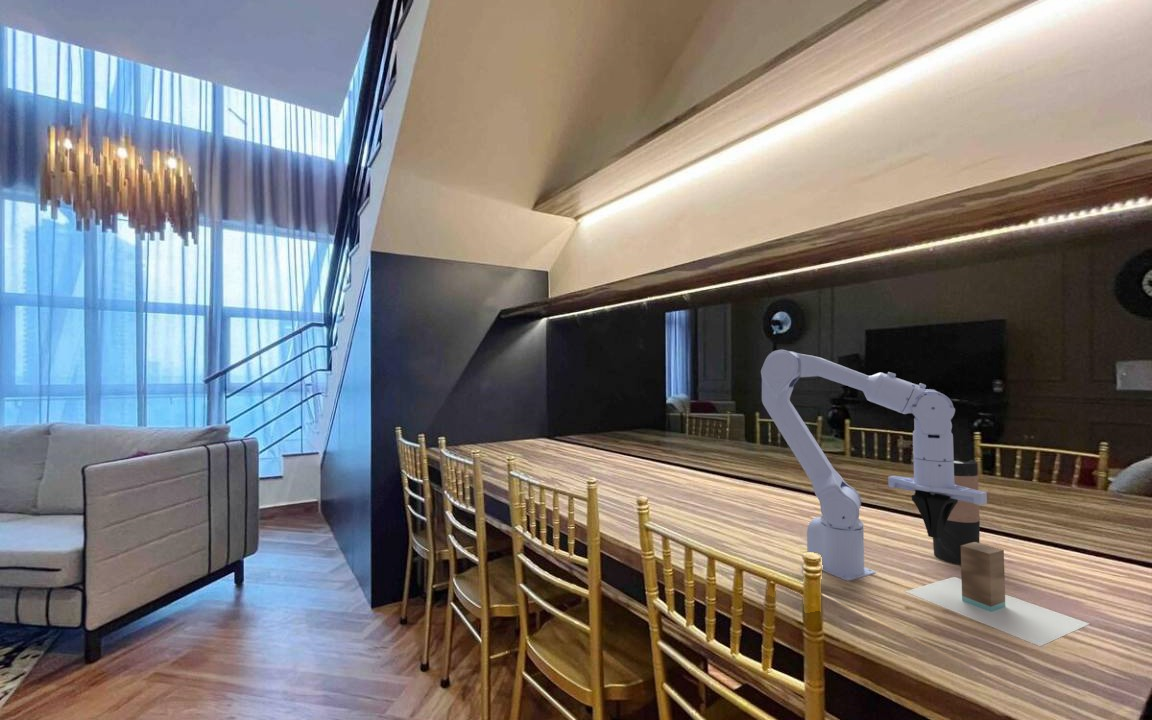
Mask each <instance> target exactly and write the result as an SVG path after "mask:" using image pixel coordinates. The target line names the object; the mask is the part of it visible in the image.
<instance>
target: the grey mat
mask: <svg viewBox="0 0 1152 720" xmlns="http://www.w3.org/2000/svg"><path fill="white" fill-rule="evenodd" d="M904 592H905V593H907V594H910V595H911V596H914V597H917V598H919V599H921V600H925V601H926V602H929V603H931V604H934V605H936V606H939V607H942V608H944V609H946V610H948V611H952V612H954V613H956V614H959V615H961V616H964V617H966V618H969V619H971V620H973V621H976V622H979V623H982V624H983V625H986V626H988V627H990V628H992V629H996V630H998V631H1001V632H1003V633H1005V634H1008V635H1010V636H1012V637H1015V638H1017V639H1020V640H1023V641H1025V642H1028V643H1031V644H1032V645H1035V646H1038V647H1043V646H1044V645H1047V644H1049V643H1051V642H1054V641H1055V640H1058V639H1061V638H1062V637H1064V636H1067V635H1068V634H1071V633H1074V632H1075V631H1077V630H1080V629H1081V628H1084V627H1087V626H1088V625H1090V623H1088V622H1086V621H1083V620H1080V619H1078V618H1074V617H1071V616H1069V615H1066V614H1063V613H1061V612H1057V611H1054V610H1051V609H1048V608H1046V607H1042V606H1041V605H1037V604H1033V603H1032V602H1028V601H1025V600H1022V599H1019V598H1017V597H1014V596H1010V595H1008V594H1005V607H1003V608H1001V609H998V610H995V611H993V612H990V611H987V610H985V609H982V608H979V607H977V606H974V605H972V604H969V603H966V602H964V601H962V578H959V577H956V576H951V577H949V578H945V579H942V580H938V581H935V582H932V583H928V584H926V585H925V584H924V585H922V586H920V587H919V586H918V587H916V588H913V589H909V590H906V591H904Z"/></svg>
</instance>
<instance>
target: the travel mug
mask: <svg viewBox="0 0 1152 720" xmlns="http://www.w3.org/2000/svg"><path fill="white" fill-rule="evenodd" d="M978 469H979V468H978V462H977V461H975V460H973V459H970V460H969V461H963V460H959V458H956V457H954V485H958V486H962V487H966V488H970V489H974V490H979V472H978ZM980 522H981V521H980V505H977V504H974V503H972V502H967V501H962V500H958V502H957V504H956V505H955V507H954V508H953V510H952V511H951V513H950V515H949V517H948V519H947V522H946V525H945V528H944V533H943V537H940V538H933V537H932V546H933V555H934V557H935V558H937V559H939V560H941V561H943V562H946V563H951V564H955V565H959V566H961V545H965V544H969V543H972V542H977V543H980V537H981V536H980V535H981V533H980V525H981V524H980Z"/></svg>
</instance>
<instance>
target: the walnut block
mask: <svg viewBox="0 0 1152 720" xmlns="http://www.w3.org/2000/svg"><path fill="white" fill-rule="evenodd" d="M1004 551H1005V550H1004V549H1002V548H999V547H994V546H990V545H988V544H983V543H980V542H979V543H977V542H972V543H969V544H965V545H961V565H960V567H961V568H960V571H961V572H960V573H961V574H960V576H961V577H960V579H962V601H964V602H966V603H969V604H972V605H974V606H977V607H979V608H982V609H985V610H987V611H990V612H993V611H995V610H998V609H1001V608H1003V607H1005V595H1006V582H1005V577H1006V576H1005V552H1004Z"/></svg>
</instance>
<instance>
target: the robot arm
mask: <svg viewBox="0 0 1152 720" xmlns="http://www.w3.org/2000/svg"><path fill="white" fill-rule="evenodd" d="M760 375H761V402H762V405H763V407H764V408H765V410H766V411H767V413H768V415H769V416H770V417H771V420H772V421H773V422H774V424H775V426H776V427H777V429H778V431H779V433H780V434H781V435H782V437H783V439H784V440H785V442H786V443H787V445H788V446H789V448H790V450H791V452H792V454H793V455H794V457H795V458H796V459H797V461H798V463H799V464H800V466H801V468H802V469H803V471H804V473H805V474H806V476H807V477H808V478H809V480H810V482H811V485H812V488H813V491H814V495H815V496H816V498H817V499H818V502H819V505H820V506H819V507H820V512H821V516H817V517H814V518H813V519H811V520H810V522H809V523H808V524H807V528H806V545H807V546H806V548H807V550H806V551H807V552H814V553H818V554H820V555H821V557H822V565H823V571H822V572H826V573H828V574H830V575H833V576H835V577H838V578H839V579H841V580H844V581H847V582H849V581H852V580H856V579H860V578H863V577H867V576H871V575H875V574H876V573H877V572H876V570H873V569H870V568H868V567H865V542H864V541H865V538H864V537H865V536H864V535H865V534H864V532H865V531H864V530H865V529H864V523H863V521H861V520H860V509H861V506H862V499H861V496H860V494H859V492H858V491H857V490H856V489H855V487H852V486H851V485H849V484H848V483H847V482H846V480H844V478H843V477H842V475H840V473H838V471H836V469H835V467H833V465H832V463H831V462H830V461H829V459H828V458H827V455H826V454H825V452H824V451H823V450H822V448H821V447H820V445H819V444H818V442H817V440H816V438H815V437H814V436H813V434H812V433H811V431H810V430H809V428H808V426H807V424H806V423H805V421H804V420H803V419H802V417H801V416H800V414H799V412H798V410H797V409H796V408H795V406H794V404H793V403H792V402H791V396H792V392H793V390H794V385H795V384H796V383H797V382H798V381H799V380H800V378H810V377H821V378H823V379H826V380H829V381H832V382H835V383H838V384H841V385H844V386H848V387H850V388H853V389H856V390H859V391H861V392H862V393H863V394H864V396H865V398H866V400H867V401H869V402H870V403H873V404H876V405H879V406H881V407H884V408H886V409H889V410H892V411H895V412H897V413H900V414H903V415H907V414H912V415H913V416H914V418H913V422H914V423H913V424H914V425H913V426H914V427H913V429H914V430H913V431H912V446H913V447H912V449H913V451H912V452H913V453H912V455H913V457H912V458H913V477H906V476H905V477H904V476H899V475H891V476H888V477H887V483H888V487H889V488H893V489H895V488H896V489H901V490H907V491H910V492H911V491H912V492H914V494H912V495H911V497H910V498H911V501H912V502H913V504H914V505H915V507H916V508H917V509H918V510H917V511H918V512H919V513H920V516H921V518H922V520H923V523H924V526H925V529H926V533H927V536H928V537H929V538H932V539H933V538H940V537H943V533H944V528H945V525H946V522H947V519H948V517H949V515H950V513H951V511H952V510H953V508H954V507H955V505H956V504H957V502H958V500H962V501H967V502H972V503H974V504H977V505H979V506H983V505H984V506H985V505H987V504H988V496H987V491H982V490H979V489H978V490H974V489H970V488H966V487H962V486H958V485H954V458H955V457H954V435H953V433H952V428H953V424H952V419H953V417H954V416H955V413H956V408H955V407H954V404H953V402H952V400H951V399H950V397H948V396H947V395H945V394H944V393H941V392H940V391H937V390H936V389H933V388H932V389H931V388H929V389H928V388H927V385H926V384H924V383H921V382H920V383H919V384H916V383H912V382H911V381H907V380H904V379H901V378H898V377H896V376H897V374H896V373H894V372H890V371H888V372H887V373H884V372H877V373H874V374H872V375H867V374H865V373H862V372H859V371H857V370H854V369H851V368H849V367H846V366H843V365H841V364H838V363H835V362H833V361H831V360H828V359H825V358H822V357H820V356H814V355H809V354H803V353H799V352H795V351H792V350H791V351H790V350H786V349H778V350H774V351H771V353H769V354H768V355H767V356H766V358H765V360H764V362H763V365H762V367H761V370H760ZM926 388H927V389H926ZM807 552H806V553H807Z"/></svg>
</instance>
